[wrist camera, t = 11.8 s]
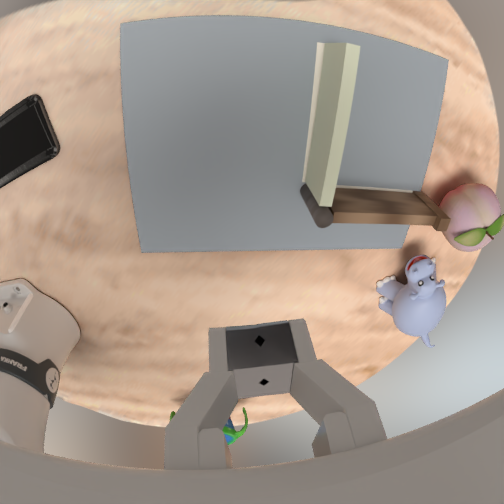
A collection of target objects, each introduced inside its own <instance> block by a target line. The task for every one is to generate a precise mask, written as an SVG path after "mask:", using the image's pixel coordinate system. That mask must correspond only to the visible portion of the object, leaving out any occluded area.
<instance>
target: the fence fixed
mask: <svg viewBox="0 0 504 504" xmlns="http://www.w3.org/2000/svg"><path fill="white" fill-rule="evenodd" d="M300 194H301V196H302V198H303V200H304V202H305V204H306V206H307V208H308V210H309V212H310V214H311V216H312V218H313V220H314V222H315V224H316V225H317V226H318V227H319V228H326V227H328V226H330V225H331V224H332V223H351V224H400V225H432V226H433V228H434V229H435V230H436V231H447V229H448V226H449V224H450V221H451V219H450V218H449V217H448V216H447V215H446V214H445V213H444V212H443V211H442V210H441V209H440V208H439V207H438V206H437V205H436V204H435V203H434V202H433V201H432V200H431V199H430V198H429V197H428V196H427V195H425V194H424V193H423V192H421V191H413V192H412V193H406V192H393V191H380V190H366V189H349V188H336V189H335V194H334V198H333V203H332V207H327V206H319V204H318V203H317V201H316V199H315V198H314V196H313V194H312V192H311V191H310V189H309V187H308V186H307V184H304V185H303V186H302V187H301V188H300Z"/></svg>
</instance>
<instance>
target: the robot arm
mask: <svg viewBox="0 0 504 504" xmlns="http://www.w3.org/2000/svg"><path fill="white" fill-rule="evenodd" d="M79 339H80V329H79V326H78V324H77V322H76V321H75V319H74V318H73V317H72V315H71V314H70V313H69V312H68V311H67V310H66V309H65V308H64V307H63V306H61V305H60V304H59V303H58V302H56V301H55V300H53V299H51V298H50V297H48V296H46V295H44V294H42V293H41V292H39V291H38V290H36V289H35V288H34V287H33V286H32V285H31V284H30V283H29V282H28V281H26V280H24V279H16V280H11V281H7V282H2V283H0V504H504V389H502V390H500V391H498V392H497V393H495V394H493V395H491V396H489V397H488V398H486V399H484V400H482V401H480V402H478V403H476V404H474V405H472V406H470V407H468V408H465V409H463V410H461V411H459V412H457V413H455V414H453V415H450V416H448V417H446V418H443V419H441V420H438V421H436V422H434V423H431V424H429V425H426V426H423V427H421V428H418V429H416V430H413V431H410V432H407V433H404V434H402V435H399V436H396V437H393V438H390V439H387V437H386V434H385V430H384V428H383V425H382V422H381V419H380V416H379V413H378V410H377V407H376V404H375V402H374V401H373V400H371V399H370V398H369V397H368V396H366V395H365V394H364V393H362V392H361V391H360V390H359V389H357V388H356V387H355V386H354V385H353V384H351V383H350V382H349V381H348V380H346V379H345V378H344V377H343V376H341V375H340V374H339V373H338V372H337V371H335V370H334V369H333V368H332V367H330V366H329V365H328V364H327V363H326V362H324V361H323V360H322V359H320V360H317V358H316V355H315V351H314V348H313V345H312V341H311V338H310V334H309V331H308V328H307V324H306V321H305V320H304V319H296V320H288V321H287V320H286V321H278V322H270V323H262V324H257V325H246V326H232V327H226V328H225V327H218V328H209V372H205V373H204V374H203V376H202V377H201V379H200V380H199V381H198V383H197V384H196V386H195V387H194V388H193V390H192V391H191V393H190V394H189V396H188V397H187V398H186V400H185V401H184V403H183V404H182V405H181V407H180V408H179V410H178V411H177V412H176V414H175V415H174V417H173V418H172V419H171V421H170V422H169V424H168V425H167V426H166V428H165V459H164V461H165V462H164V470H162V469H161V470H160V469H144V468H131V467H121V466H112V465H104V464H97V463H91V462H84V461H79V460H73V459H68V458H63V457H59V456H54V455H50V454H46V453H44V439H45V431H46V424H47V418H48V414H49V410H50V409H51V408H52V407H53V404H54V401H55V397H56V394H57V390H58V386H59V380H60V373H61V371H62V368H63V366H64V364H65V362H66V360H67V358H68V356H69V354H70V352H71V351H72V349H73V348H74V346H75V345H76V344H77V342H78V341H79ZM283 393H290V394H291V396H292V397H293V398H294V399H295V400H296V401H297V402H298V403H299V404H300V405H301V406H302V407H303V408H304V409H305V411H307V412H308V414H309V415H310V416H311V417H312V418H313V419H314V420H315V421H316V422H317V423H318V424H319V425H320V428H319V430H318V433H317V434H316V437H315V439H314V441H313V443H312V448H313V452H314V457H315V458H311V459H305V460H299V461H294V462H287V463H281V464H273V465H265V466H256V467H245V468H233V465H232V456H231V453H230V450H229V447H228V444H227V441H226V438H225V435H224V433H223V431H222V430H223V428H224V426H225V424H226V423H227V421H228V419H229V417H230V415H231V413H232V411H233V409H234V408H235V406H236V404H237V402H238V399H241V398H249V397H257V396H264V395H274V394H283Z"/></svg>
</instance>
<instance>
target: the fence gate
mask: <svg viewBox="0 0 504 504" xmlns="http://www.w3.org/2000/svg"><path fill="white" fill-rule="evenodd" d="M359 54H360V46H358V45H354V44H350V43H325V46H324V54H323V62H322V70H321V78H320V86H319V93H318V100H317V107H316V114H315V121H314V128H313V134H312V141H311V147H310V154H309V160H308V166H307V172H306V178H305V182H306V184H307V186H308V187H309V189H310V191H311V192H312V194H313V196H314V198H315V199H316V201H317V203H318V204H319V206H327V207H332V203H333V198H334V194H335V189H336V185H337V180H338V175H339V170H340V165H341V161H342V156H343V150H344V145H345V140H346V135H347V129H348V124H349V118H350V112H351V107H352V101H353V94H354V88H355V82H356V75H357V68H358V61H359Z"/></svg>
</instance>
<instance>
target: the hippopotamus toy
mask: <svg viewBox="0 0 504 504" xmlns="http://www.w3.org/2000/svg"><path fill="white" fill-rule="evenodd" d="M435 261H436V259H435V258H432V259H430V258H429V257H428V256H426V255H418V256H415V257H413V258H411V259H410V260H409V261H408V263H407V265H406V267H405V274H406V276H407V278H408V284H406V285H403V284H402V283H400V282H398V281H396V277H395V276H394V275H392V276H391V277H385V278H384V279H383V280H380V281H378V282H377V283H376V285H377V292H378V293H379V294H381V295H383V296H384V297H380V298H379V308H380V309H381V310H383V311H385V312H386V313H388V314H390V315H391V316H393V320H394V323H395V325H396V327H397V328H398V329H399V330H400V331H401V332H403V333H405V334H407V335H410V336H417V337H418V336H421V339H422V341H423V342H424V344H425V345H426V346H428V347H430V348H432V347H434V345H433V346H431V345H430V341H429V336H428V333H429V332H430V331H432V330H433V329H434V328H435V327H436V326H437V324H438V323H439V321H440V319H441V318H442V316H443V314H444V311H445V308H446V294H445V291H444V288H443V286H444V284H445V281H444V280H440V282H438V281H436V264H435Z"/></svg>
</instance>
